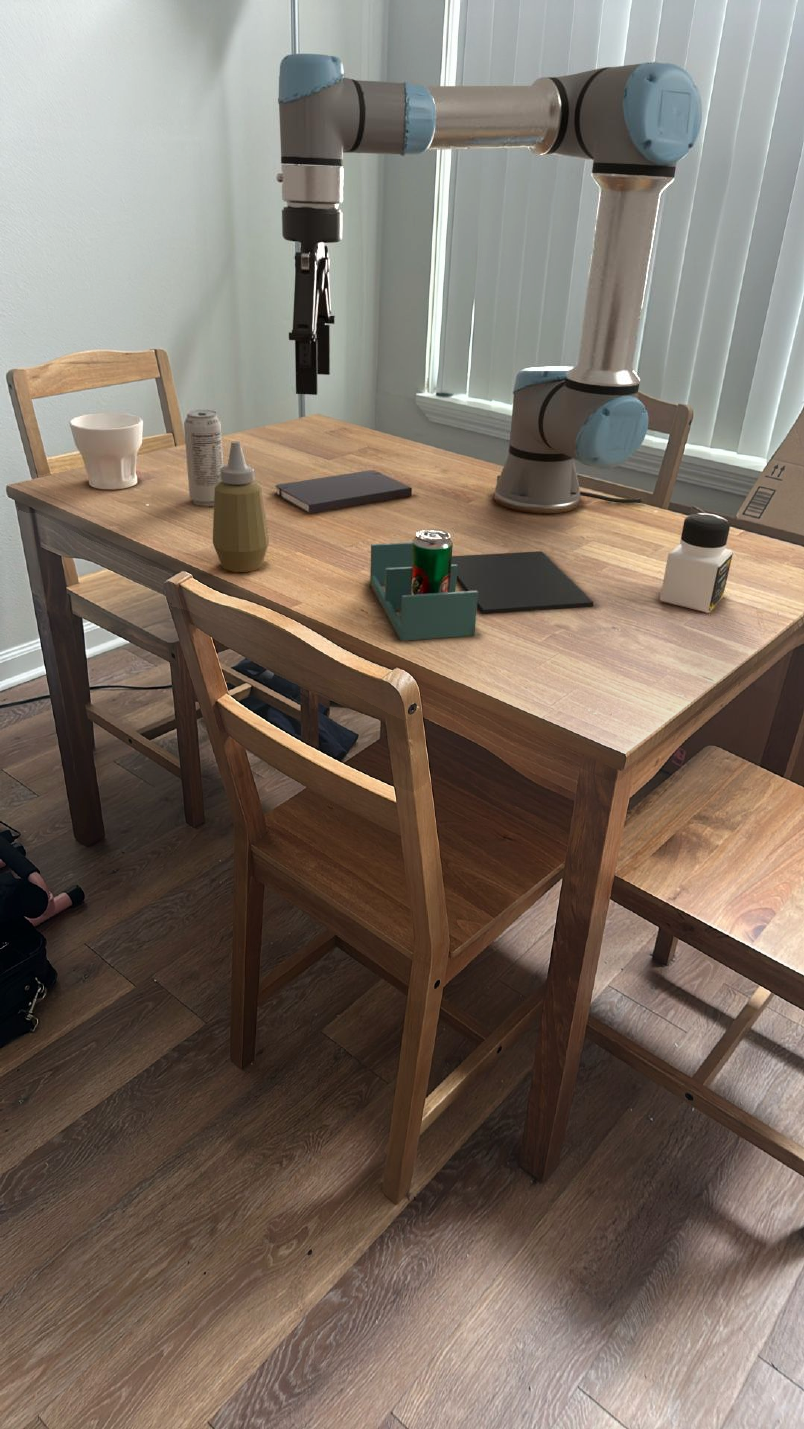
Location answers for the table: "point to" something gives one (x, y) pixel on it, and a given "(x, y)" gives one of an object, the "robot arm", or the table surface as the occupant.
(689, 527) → the medicine bottle
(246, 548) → the squeeze bottle
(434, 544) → the soda can
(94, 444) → the cup
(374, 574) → the frame
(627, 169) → the robot arm
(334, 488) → the notebook
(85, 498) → the table surface
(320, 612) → the table surface
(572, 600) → the mat
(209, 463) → the energy drink can
